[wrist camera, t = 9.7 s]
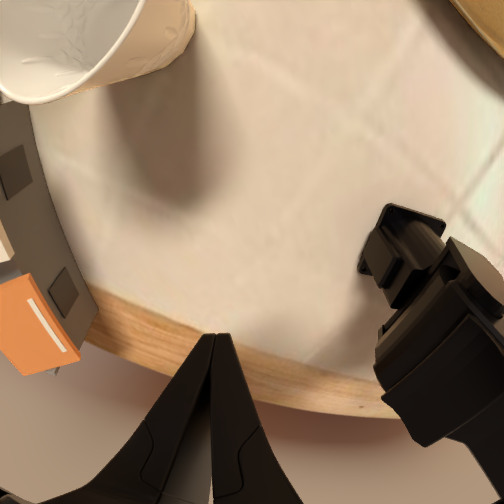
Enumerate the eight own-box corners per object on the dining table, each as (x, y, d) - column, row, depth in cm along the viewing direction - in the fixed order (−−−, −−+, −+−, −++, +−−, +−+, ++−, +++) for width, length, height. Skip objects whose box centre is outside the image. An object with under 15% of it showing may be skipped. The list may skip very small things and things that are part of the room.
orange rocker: (29, 272, 16) (27, 279, 15) (80, 353, 21) (80, 360, 21) (-31, 297, 14) (-34, 304, 13) (24, 369, 19) (23, 376, 18)
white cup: (193, -37, 10) (141, -110, 2) (217, 62, 15) (174, 48, 6) (85, 7, 11) (-18, -6, 3) (106, 99, 16) (2, 137, 7)
